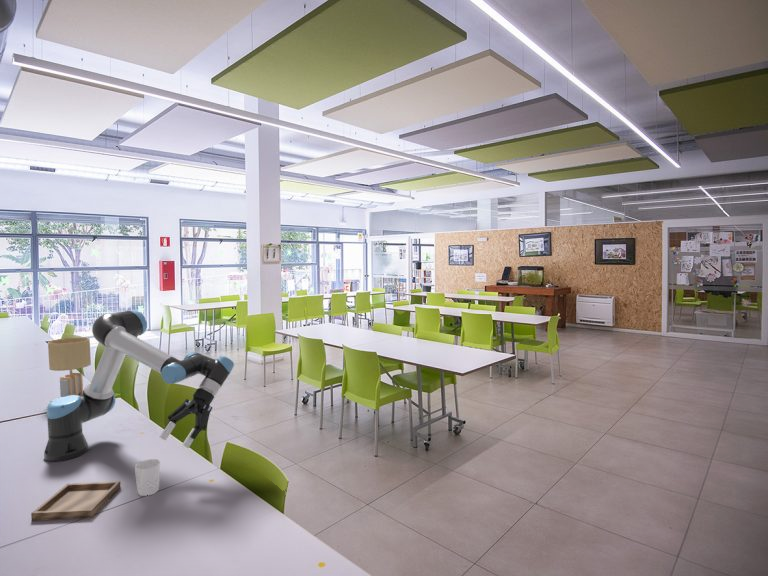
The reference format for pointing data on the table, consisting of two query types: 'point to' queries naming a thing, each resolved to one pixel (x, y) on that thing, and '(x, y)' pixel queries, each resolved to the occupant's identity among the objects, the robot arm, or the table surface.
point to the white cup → (147, 476)
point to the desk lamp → (69, 362)
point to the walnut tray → (76, 501)
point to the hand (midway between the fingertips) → (173, 442)
